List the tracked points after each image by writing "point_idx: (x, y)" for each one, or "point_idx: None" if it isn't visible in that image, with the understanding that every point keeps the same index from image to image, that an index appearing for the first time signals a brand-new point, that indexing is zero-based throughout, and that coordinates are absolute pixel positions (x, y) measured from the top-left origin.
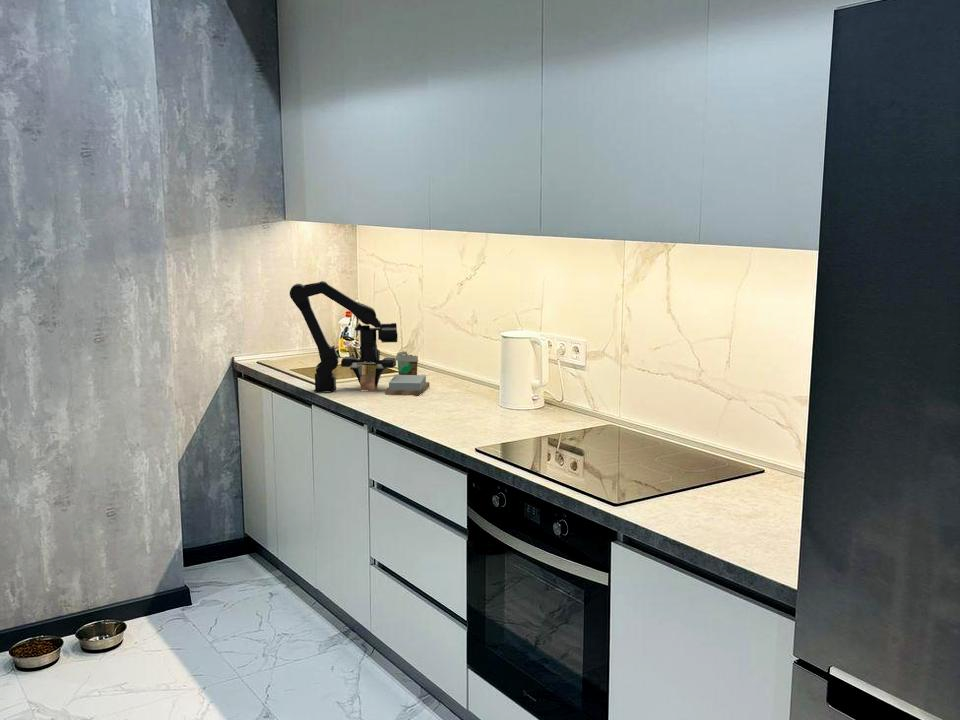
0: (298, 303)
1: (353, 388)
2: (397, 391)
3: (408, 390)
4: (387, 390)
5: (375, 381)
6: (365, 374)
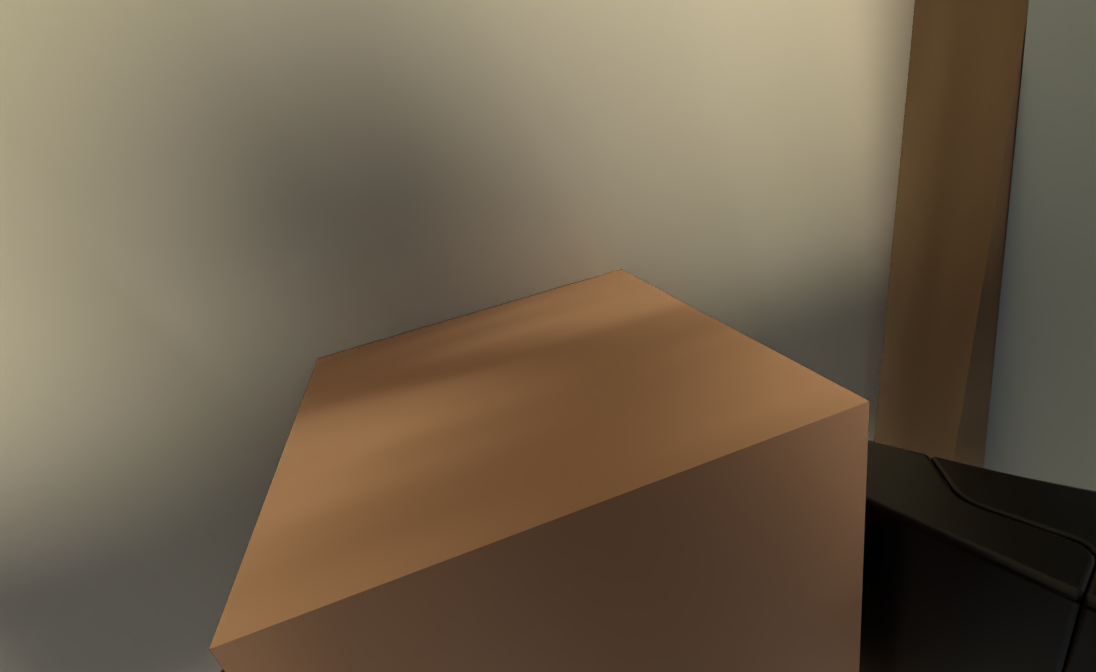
0: None
1: (97, 491)
2: None
3: None
4: None
5: None
6: (312, 604)
